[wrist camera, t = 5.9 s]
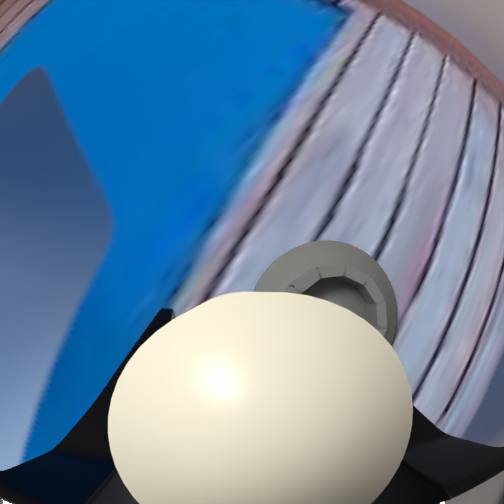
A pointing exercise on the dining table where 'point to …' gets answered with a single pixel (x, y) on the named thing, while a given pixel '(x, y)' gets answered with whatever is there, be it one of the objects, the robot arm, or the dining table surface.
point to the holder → (336, 281)
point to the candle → (261, 406)
